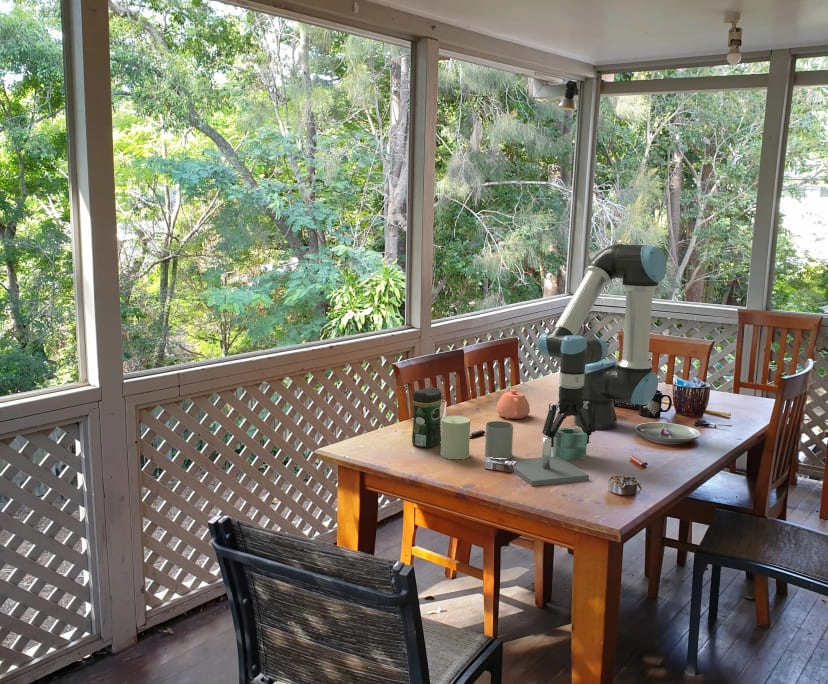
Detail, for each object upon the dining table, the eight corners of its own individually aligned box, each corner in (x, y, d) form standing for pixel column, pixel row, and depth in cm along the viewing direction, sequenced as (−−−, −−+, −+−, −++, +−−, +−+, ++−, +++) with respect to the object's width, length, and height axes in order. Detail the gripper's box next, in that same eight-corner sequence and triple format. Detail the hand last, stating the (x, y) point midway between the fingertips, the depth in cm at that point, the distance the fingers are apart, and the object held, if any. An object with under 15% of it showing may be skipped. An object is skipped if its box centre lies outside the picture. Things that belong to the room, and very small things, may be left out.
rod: (547, 466, 226) (549, 436, 224) (551, 468, 223) (553, 438, 222) (540, 466, 225) (541, 437, 223) (544, 469, 223) (545, 439, 221)
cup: (484, 451, 243) (485, 420, 242) (510, 451, 243) (511, 421, 241) (485, 459, 235) (487, 428, 233) (512, 460, 235) (514, 428, 233)
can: (435, 457, 236) (436, 419, 234) (445, 449, 245) (446, 412, 243) (464, 461, 233) (465, 423, 231) (473, 452, 241) (474, 415, 239)
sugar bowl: (526, 412, 291) (527, 386, 289) (533, 422, 277) (534, 395, 275) (494, 412, 291) (495, 385, 289) (499, 422, 277) (500, 394, 275)
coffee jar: (424, 438, 256) (426, 384, 252) (444, 443, 251) (445, 387, 248) (407, 445, 248) (408, 389, 245) (427, 450, 243) (428, 393, 240)
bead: (572, 451, 245) (574, 426, 243) (585, 458, 237) (587, 434, 236) (550, 453, 242) (551, 428, 241) (562, 461, 235) (564, 436, 234)
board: (558, 460, 236) (558, 455, 235) (588, 480, 219) (589, 475, 218) (504, 465, 230) (504, 460, 230) (531, 486, 213) (532, 480, 213)
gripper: (544, 390, 229) (540, 462, 233) (610, 386, 236) (605, 456, 240) (532, 385, 236) (529, 454, 240) (597, 381, 243) (593, 448, 247)
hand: (567, 455), depth 240 cm, fingers open, 10 cm apart
